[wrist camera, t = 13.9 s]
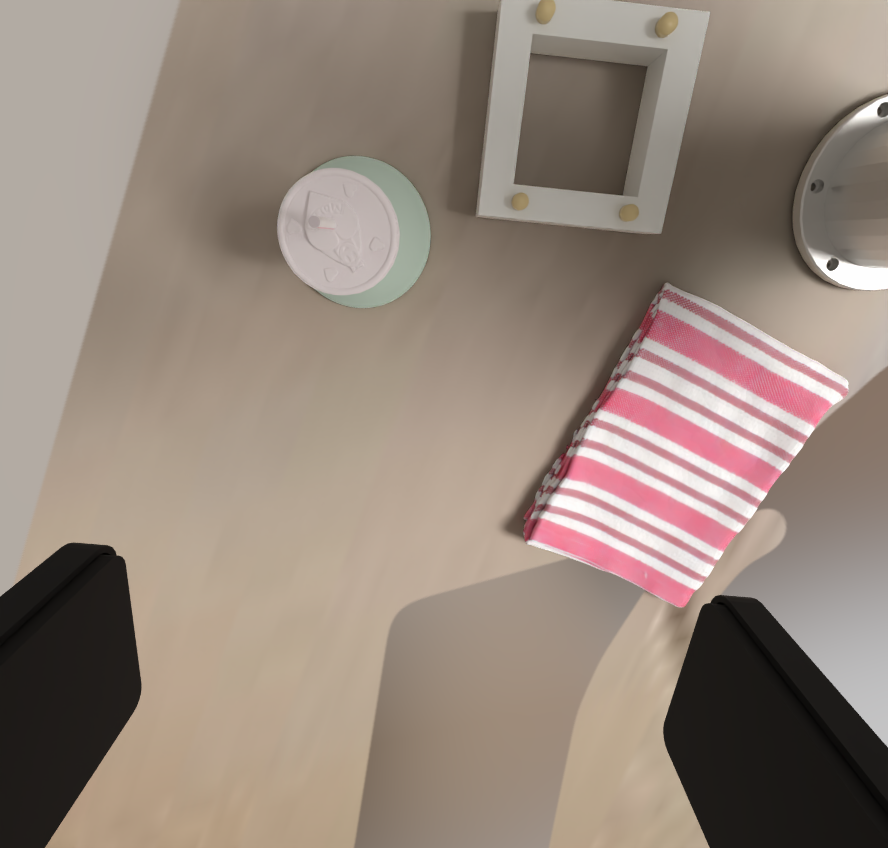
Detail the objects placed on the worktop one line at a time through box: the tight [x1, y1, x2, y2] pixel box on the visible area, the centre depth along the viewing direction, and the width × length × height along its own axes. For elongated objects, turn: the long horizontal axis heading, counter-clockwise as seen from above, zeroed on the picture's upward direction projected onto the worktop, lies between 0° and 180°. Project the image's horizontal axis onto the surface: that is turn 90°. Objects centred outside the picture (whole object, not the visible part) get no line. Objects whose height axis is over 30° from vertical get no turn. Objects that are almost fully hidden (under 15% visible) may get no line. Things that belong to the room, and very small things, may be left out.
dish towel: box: [523, 283, 849, 607], centre depth 41 cm, size 17×23×4 cm
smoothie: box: [277, 168, 400, 295], centre depth 29 cm, size 6×6×14 cm
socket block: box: [476, 0, 710, 234], centre depth 33 cm, size 12×12×4 cm
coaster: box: [312, 156, 431, 308], centre depth 36 cm, size 10×10×1 cm
